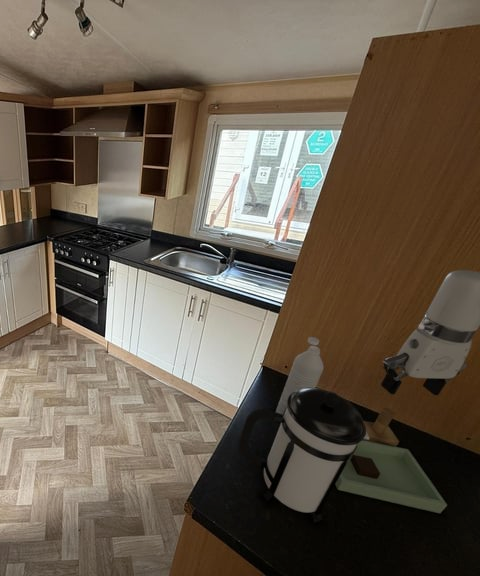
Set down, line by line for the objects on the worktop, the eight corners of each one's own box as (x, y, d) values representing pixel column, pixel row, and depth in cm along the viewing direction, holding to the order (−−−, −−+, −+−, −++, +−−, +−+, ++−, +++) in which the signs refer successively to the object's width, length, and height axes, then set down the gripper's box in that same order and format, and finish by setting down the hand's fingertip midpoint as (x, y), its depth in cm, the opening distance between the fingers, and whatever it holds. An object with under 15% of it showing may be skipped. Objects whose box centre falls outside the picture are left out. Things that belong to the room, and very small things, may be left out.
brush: (382, 434, 86) (399, 406, 81) (393, 450, 81) (412, 422, 76) (352, 428, 87) (367, 400, 83) (361, 444, 83) (377, 416, 78)
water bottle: (301, 430, 86) (331, 359, 75) (274, 421, 89) (300, 351, 78) (299, 408, 93) (328, 340, 82) (275, 400, 96) (299, 333, 85)
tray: (402, 457, 79) (408, 449, 78) (440, 513, 68) (447, 505, 66) (316, 439, 84) (320, 431, 82) (337, 489, 72) (342, 481, 71)
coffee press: (287, 450, 81) (325, 359, 68) (345, 516, 67) (407, 417, 54) (229, 466, 77) (257, 372, 64) (277, 539, 63) (326, 438, 50)
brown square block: (368, 463, 77) (371, 458, 76) (377, 479, 74) (380, 473, 73) (350, 459, 78) (352, 454, 77) (357, 474, 75) (360, 469, 74)
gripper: (419, 338, 62) (383, 402, 69) (508, 340, 61) (463, 403, 69) (388, 318, 68) (359, 378, 76) (468, 320, 68) (431, 379, 76)
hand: (408, 390), depth 72 cm, fingers open, 9 cm apart
